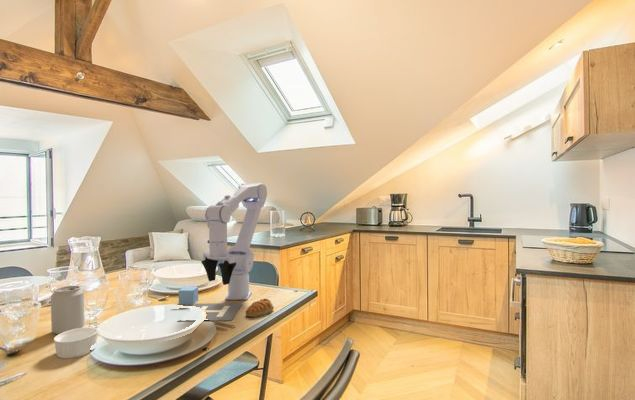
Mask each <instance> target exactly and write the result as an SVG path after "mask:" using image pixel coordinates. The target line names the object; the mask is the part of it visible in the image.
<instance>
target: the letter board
mask: <svg viewBox="0 0 635 400" xmlns="http://www.w3.org/2000/svg"><path fill="white" fill-rule="evenodd" d="M242 305H243V302H233V303H231V302H230V303H229V302H228V303H227V302H223V303H220V302H219V303H217V302H216V303H215V302H214V303H212V302H211V303H195V304H194V305H192V306H196V307H200V308H202V309H204V310H205V311H206V314H207V316H206V319H208V320H210V321H209V322H232V320H233V318H235V316H236V314H237V313H238V311H239V310H240V308H241V306H242Z"/></svg>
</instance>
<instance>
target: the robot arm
mask: <svg viewBox="0 0 635 400" xmlns="http://www.w3.org/2000/svg"><path fill="white" fill-rule="evenodd" d="M237 187H238V189H237V190H236V191H235V192H234V193H233V194H232V195H230V194H226V195H224V197H223V199H221V200H219V201H218V202H217V203H216V204H215V205H214V204H213V205H212V204H211V205H210V206H208V207H207V208H206V210H205V214H204V218H205V221H206V224H207V228H208V239H209V240H208V241H209V243H208V244H209V247H208V248H209V251H206V252H202V259H204V260H201V265H202V266H203V267H204V270H205V272H206V276H207V280H208V282H212V281H216V275H217V265H218V267H219V269H220V274H221V278H222V279H221V280H222V281H221V282H222V285H224V286H225V285H227V286H228V287H227V288H228V289H227V290H228V291H227V293H228V294H227V295H226V296H225V297H224V300H225V301H227V300H230V301H235V300H239V301H241V300H243V301H244V300H248V299H249V298H250V296H251V295H252V293H253V291H252V290H250V275H249V273H250V272H251V270H252V269H253V266H254V258H255V253H254V252H253V251H252V249H250V246H251V244H252V240H253V237H254V234H255V231H256V227H257V223H258V221H259V218H260V213H261V210H262V208H263V207H264V206H265V203H266V200H267V196H268V190H267V186H266V184H264V183H263V182H261V183H241V184H240V185H238V186H237ZM240 203H241V204H242V206H243V207H244V208H246V212H245V215H244V218H243V221H242V223H241V224H242V225H241V227H240V230H239V233H238V236H237V239H236V242H235V244H234V245H233V246H231V247H230V248H228V222H230V219H231V217H232V215H233V213H234V212H235V211H237V210H238V208H239V207H240ZM219 262H221V263H219Z"/></svg>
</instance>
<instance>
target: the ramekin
mask: <svg viewBox="0 0 635 400" xmlns="http://www.w3.org/2000/svg"><path fill="white" fill-rule="evenodd" d="M98 332H99V329H98V328H96V327H94V326H93V327H92V326H91V327H90V326H89V327H86V326H83V327H82V328H77V329H72V330H69V331H66V332H63V333H61V334H59V335H57V334H56V335H55V336H54V338H53V342H54V346H55V353H56V357H58V358H60V359H75V358H79V357H82V356H85V355H88V354H90V353H91V352H90V348H91V346H92V345H94V344H95V343H96V344H97V342H96V341H97V340H98V339H97V336H98Z"/></svg>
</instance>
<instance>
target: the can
mask: <svg viewBox="0 0 635 400" xmlns="http://www.w3.org/2000/svg"><path fill="white" fill-rule="evenodd" d="M81 288H82V287H81V286H80V285H68V286H67V285H66V286H61V287H58V288H55V289H54V290H53V293H52V294H51V295H50V319H51V320H50V321H51V324H50V325H51V332H52V333H55V335H56V336H57V335H59V334H61V333H63V332H66V331H69V330H72V329H77V328H84V327H85V294H84V293H85V292H84V291H83V290H82V289H81Z"/></svg>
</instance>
